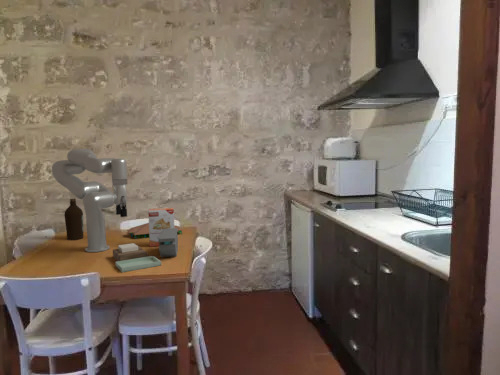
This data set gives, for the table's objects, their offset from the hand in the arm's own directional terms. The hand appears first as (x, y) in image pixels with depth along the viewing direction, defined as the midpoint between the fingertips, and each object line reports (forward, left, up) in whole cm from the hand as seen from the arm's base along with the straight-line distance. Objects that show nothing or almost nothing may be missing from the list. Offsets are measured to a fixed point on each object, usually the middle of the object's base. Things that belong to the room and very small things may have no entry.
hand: (121, 215), depth 206 cm
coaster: (+9, 0, -16) cm, 19 cm away
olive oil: (-56, -16, -20) cm, 61 cm away
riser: (+12, 0, -20) cm, 24 cm away
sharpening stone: (+15, +20, -21) cm, 32 cm away
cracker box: (-6, +23, -20) cm, 31 cm away
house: (-39, +29, -21) cm, 53 cm away
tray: (+27, 0, -20) cm, 34 cm away
